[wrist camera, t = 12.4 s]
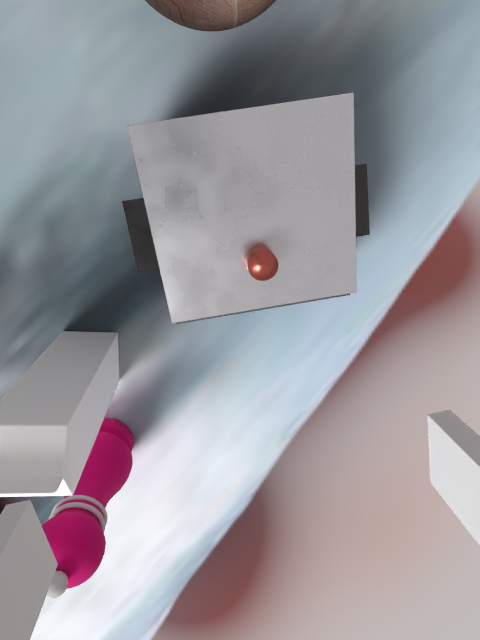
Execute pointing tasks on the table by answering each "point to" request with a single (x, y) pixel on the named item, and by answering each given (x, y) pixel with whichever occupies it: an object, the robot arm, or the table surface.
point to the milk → (56, 414)
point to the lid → (251, 205)
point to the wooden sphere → (210, 12)
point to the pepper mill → (88, 508)
